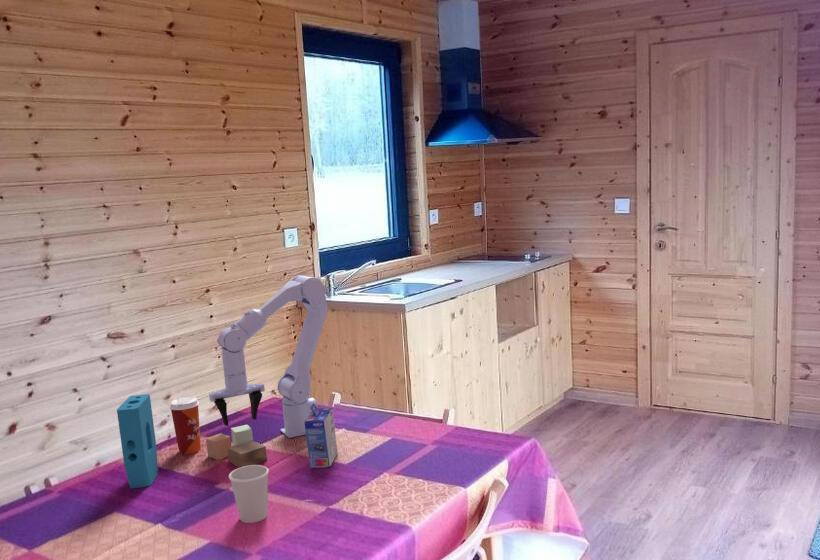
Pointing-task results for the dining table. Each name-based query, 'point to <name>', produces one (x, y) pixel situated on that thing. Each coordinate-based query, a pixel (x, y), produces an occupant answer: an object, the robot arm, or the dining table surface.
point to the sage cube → (241, 434)
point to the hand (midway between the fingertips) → (240, 421)
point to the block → (138, 440)
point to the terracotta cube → (218, 446)
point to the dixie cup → (250, 492)
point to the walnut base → (247, 454)
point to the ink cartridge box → (320, 437)
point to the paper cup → (186, 424)
